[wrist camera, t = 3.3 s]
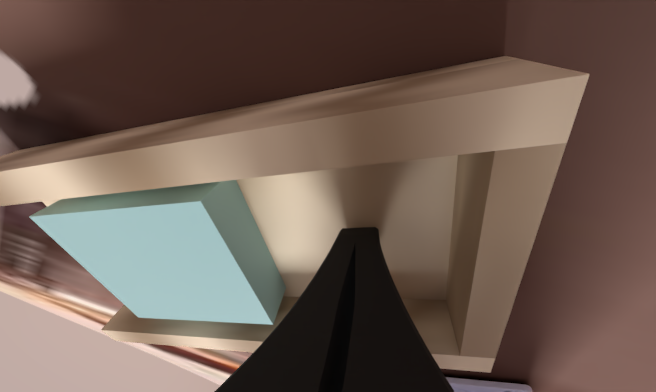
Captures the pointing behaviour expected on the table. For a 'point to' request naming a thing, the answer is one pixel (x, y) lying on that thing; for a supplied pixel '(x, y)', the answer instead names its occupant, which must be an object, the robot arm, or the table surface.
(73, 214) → the pale teal square slab
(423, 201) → the tray
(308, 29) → the table surface
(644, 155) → the table surface
